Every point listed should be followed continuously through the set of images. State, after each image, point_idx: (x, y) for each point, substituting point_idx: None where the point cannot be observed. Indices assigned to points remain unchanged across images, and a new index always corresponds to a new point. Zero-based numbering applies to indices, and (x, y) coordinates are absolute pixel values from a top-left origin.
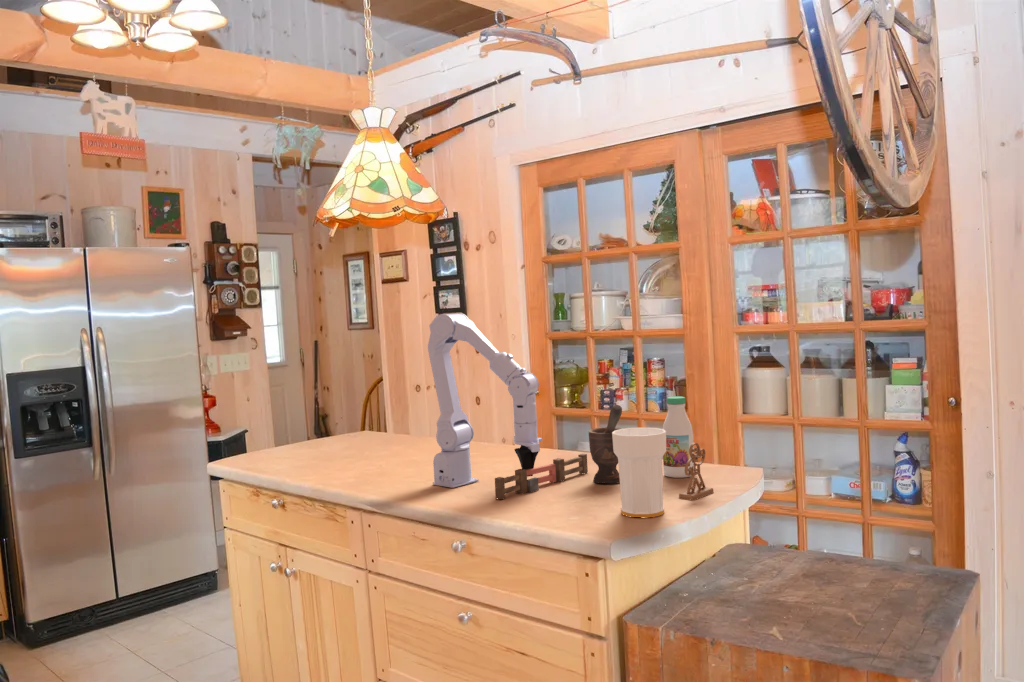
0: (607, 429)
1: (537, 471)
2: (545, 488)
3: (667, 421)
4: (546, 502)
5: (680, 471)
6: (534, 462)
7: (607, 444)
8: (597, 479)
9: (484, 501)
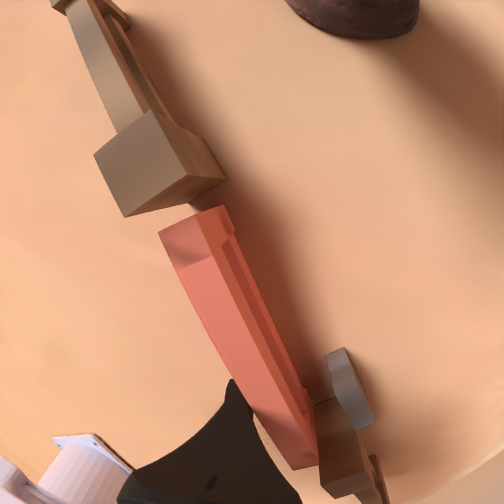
0: None
1: (282, 380)
2: (332, 309)
3: None
4: (498, 360)
5: None
6: (255, 431)
7: None
8: (382, 27)
9: None
